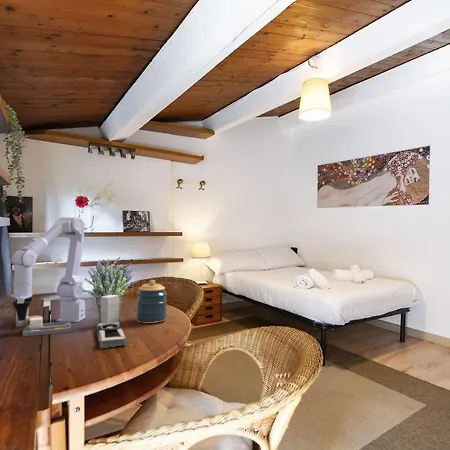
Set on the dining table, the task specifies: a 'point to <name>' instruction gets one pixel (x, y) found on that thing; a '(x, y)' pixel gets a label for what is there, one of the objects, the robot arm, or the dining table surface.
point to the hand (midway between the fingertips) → (22, 318)
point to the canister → (151, 302)
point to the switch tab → (36, 322)
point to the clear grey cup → (24, 322)
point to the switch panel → (48, 329)
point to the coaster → (33, 317)
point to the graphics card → (111, 335)
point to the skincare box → (109, 309)
